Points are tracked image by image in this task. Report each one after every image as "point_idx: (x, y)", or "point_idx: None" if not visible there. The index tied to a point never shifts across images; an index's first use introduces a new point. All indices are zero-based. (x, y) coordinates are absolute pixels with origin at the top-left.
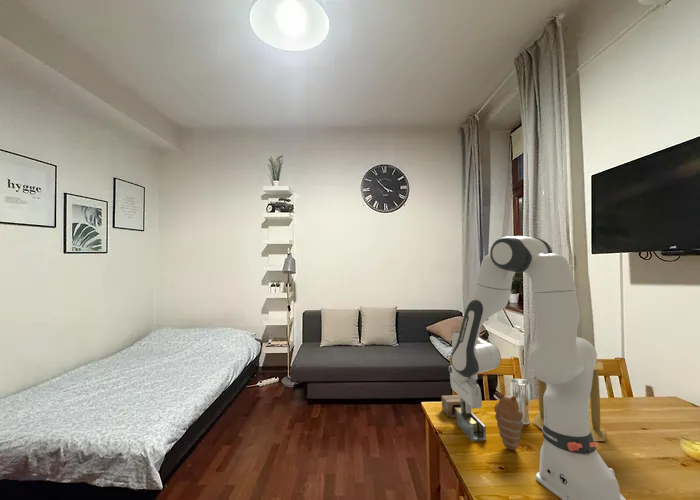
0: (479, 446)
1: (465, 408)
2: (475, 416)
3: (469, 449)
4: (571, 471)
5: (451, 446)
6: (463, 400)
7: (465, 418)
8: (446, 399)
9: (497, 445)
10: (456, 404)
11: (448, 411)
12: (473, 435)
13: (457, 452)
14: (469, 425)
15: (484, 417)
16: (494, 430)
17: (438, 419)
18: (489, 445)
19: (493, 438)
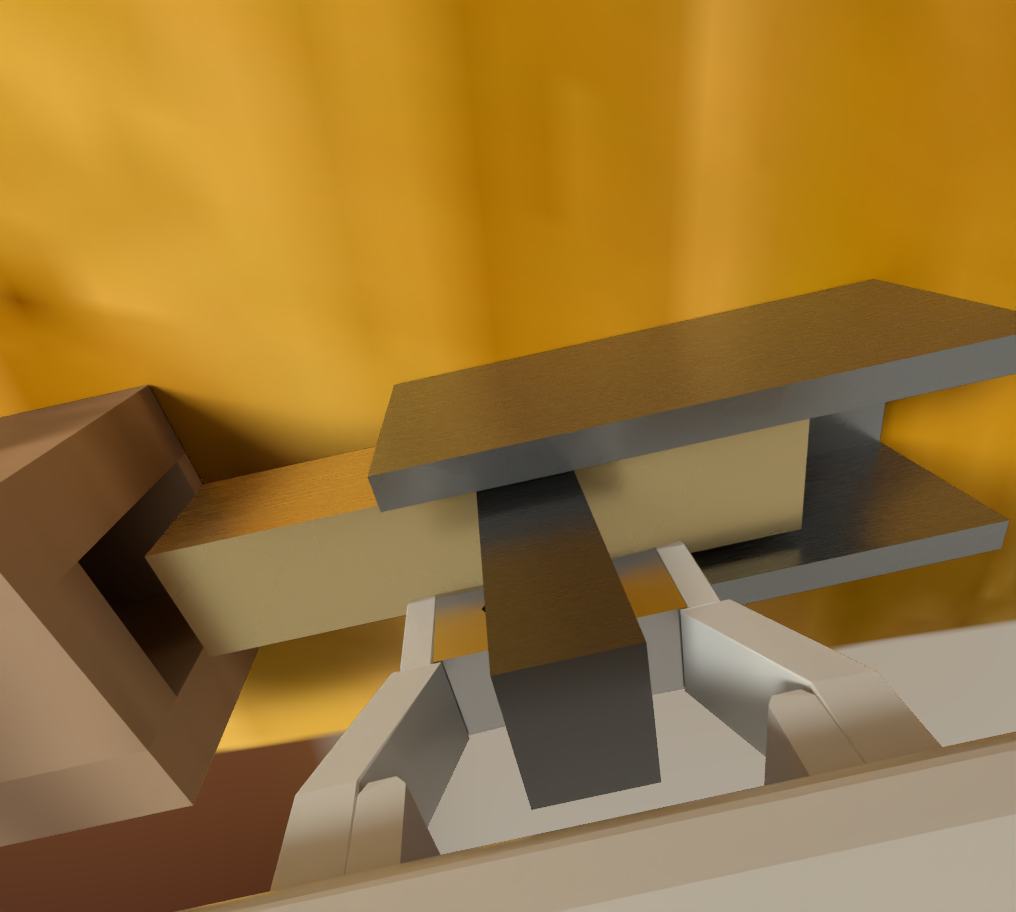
0: (957, 386)
1: (680, 676)
2: (655, 421)
3: (975, 490)
4: None
5: (883, 618)
6: (414, 762)
7: (720, 584)
8: (70, 813)
9: (1009, 149)
10: (134, 649)
11: (242, 660)
12: (907, 460)
13: (984, 586)
14: (942, 559)
15: (67, 69)
16: (588, 33)
17: (355, 689)
18: (974, 263)
19: (829, 146)
